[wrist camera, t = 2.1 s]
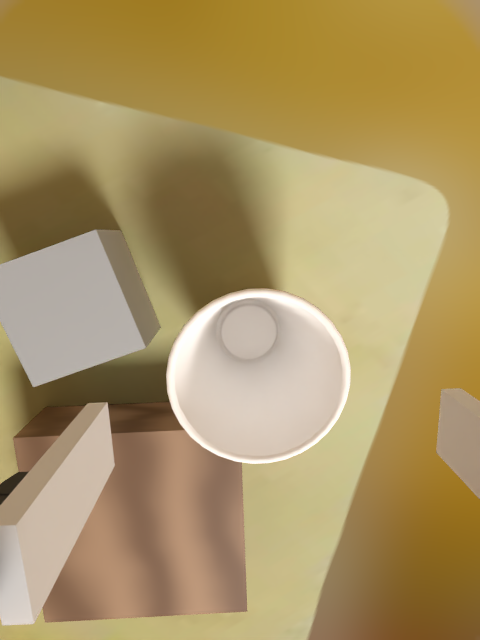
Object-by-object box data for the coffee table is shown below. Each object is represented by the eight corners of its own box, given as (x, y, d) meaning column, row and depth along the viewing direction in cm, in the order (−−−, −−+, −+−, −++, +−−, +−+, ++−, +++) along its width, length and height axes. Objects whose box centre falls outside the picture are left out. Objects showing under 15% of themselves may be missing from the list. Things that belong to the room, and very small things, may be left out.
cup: (289, 401, 33) (318, 481, 22) (174, 372, 32) (147, 442, 22) (325, 288, 31) (377, 316, 20) (203, 254, 30) (190, 266, 20)
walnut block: (69, 569, 36) (45, 622, 31) (45, 407, 33) (13, 438, 28) (244, 560, 36) (247, 611, 31) (238, 398, 33) (240, 427, 28)
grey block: (69, 359, 32) (33, 387, 26) (24, 265, 30) (-24, 273, 24) (161, 326, 32) (145, 347, 26) (121, 230, 30) (95, 229, 24)
